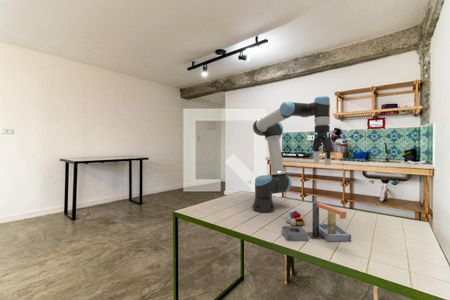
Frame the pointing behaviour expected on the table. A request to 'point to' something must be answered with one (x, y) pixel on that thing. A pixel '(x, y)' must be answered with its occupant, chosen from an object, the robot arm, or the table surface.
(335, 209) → the swing bar
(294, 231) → the hitch block
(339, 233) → the tray
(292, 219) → the rainbow disc toy
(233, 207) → the table surface
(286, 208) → the table surface
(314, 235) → the gate post
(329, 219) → the pin
